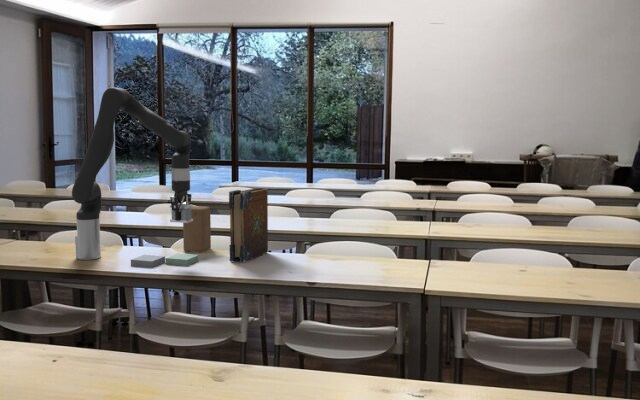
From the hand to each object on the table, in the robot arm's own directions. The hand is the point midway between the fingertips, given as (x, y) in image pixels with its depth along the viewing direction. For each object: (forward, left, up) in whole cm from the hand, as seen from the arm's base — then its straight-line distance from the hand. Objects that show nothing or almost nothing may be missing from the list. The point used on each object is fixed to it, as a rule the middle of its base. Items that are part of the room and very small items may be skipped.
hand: (181, 219), depth 251 cm
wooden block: (-6, +25, -18) cm, 32 cm away
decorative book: (+23, +19, -18) cm, 35 cm away
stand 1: (-12, -7, -18) cm, 23 cm away
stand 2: (0, 0, -18) cm, 18 cm away
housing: (0, 0, -1) cm, 1 cm away
